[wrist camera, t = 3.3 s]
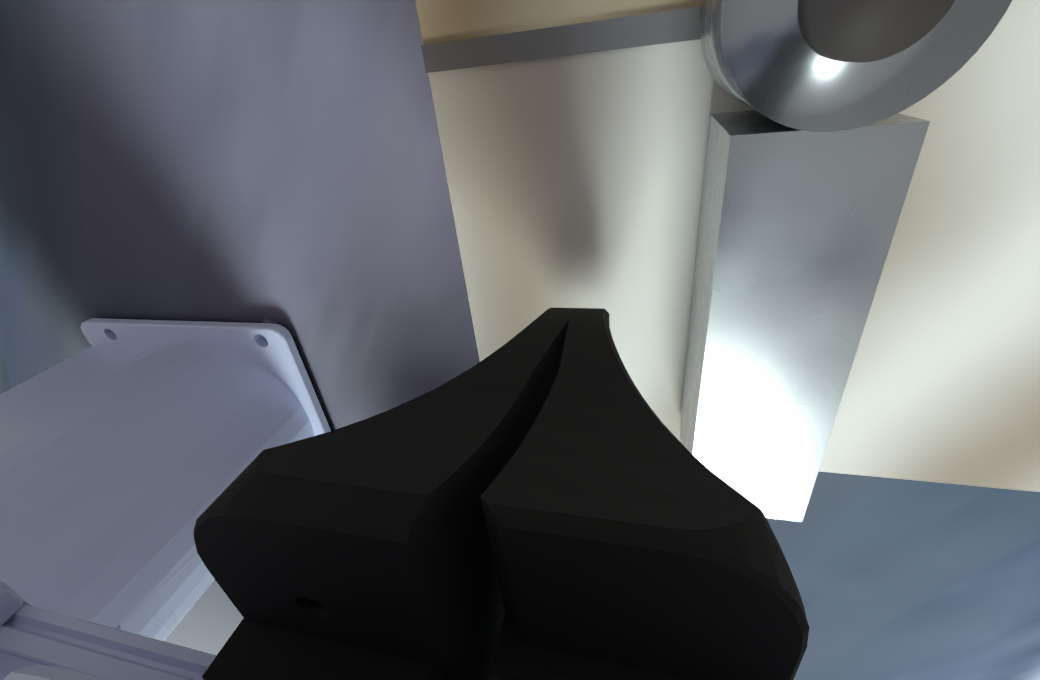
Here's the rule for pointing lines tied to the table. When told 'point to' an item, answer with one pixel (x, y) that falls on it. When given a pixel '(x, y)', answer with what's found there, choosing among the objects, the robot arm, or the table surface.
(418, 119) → the table surface
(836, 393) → the latch
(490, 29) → the board
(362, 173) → the table surface
